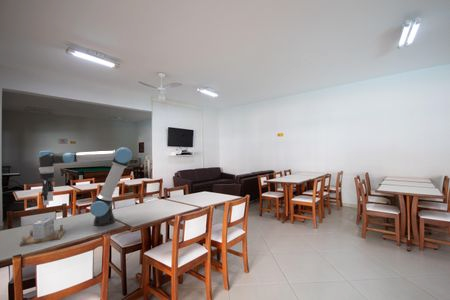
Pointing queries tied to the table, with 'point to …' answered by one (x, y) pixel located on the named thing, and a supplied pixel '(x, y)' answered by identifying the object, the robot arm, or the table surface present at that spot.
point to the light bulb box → (43, 228)
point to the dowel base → (53, 236)
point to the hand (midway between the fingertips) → (48, 202)
